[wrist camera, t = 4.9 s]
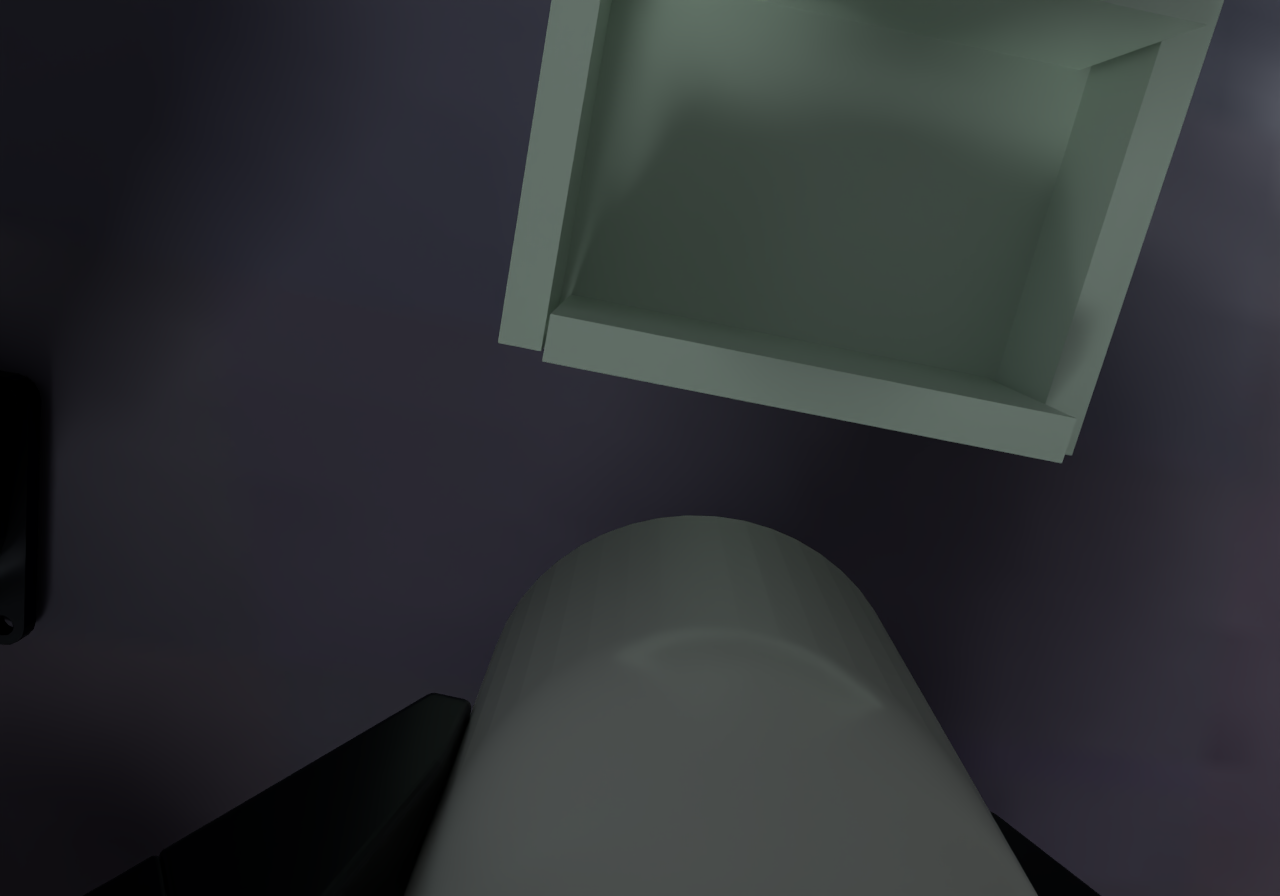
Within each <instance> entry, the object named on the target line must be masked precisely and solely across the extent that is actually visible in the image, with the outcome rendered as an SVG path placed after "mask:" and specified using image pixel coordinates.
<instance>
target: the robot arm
mask: <svg viewBox="0 0 1280 896" xmlns="http://www.w3.org/2000/svg"><path fill="white" fill-rule="evenodd" d="M8 389H10V390H12V391H13V393H14V394H15V395H16V397H17V401H18V402H17V405H16V406H15V405H13V404H12V403H11V402H10V401H9V400H8V397H7V390H8ZM40 418H41V398H40V392H39V390H38V388H37V386H36V385H35V383H34V382H32V381H31V380H30V379H29V378H28V377H25V376H23V375H20V374H16V373H11V372H6V371H1V370H0V644H4V645H10V644H13V643H15V642H18V641H19V640H21V639H22V638H24V637H25V636H27V635H28V634H29V633H30V632H31V631H32V630H33V629H34V626H35V622H36V582H37V541H38V500H39V459H40ZM3 616H5V617H7V618H9V619H10V620H11V621H12V624H13V627H11V626H9V625H8V624H7V623H6V622H5V620H4V617H3ZM470 714H471V704H470V703H469V702H468V701H467V700H465V699H461V698H457V697H452V696H447V695H443V694H438V693H431V694H428V695H426V696H424V697H423V698H421V699H419V700H417V701H416V702H414V703H412V704H411V705H409V706H407V707H406V708H404V709H402V710H400V711H399V712H397V713H395V714H394V715H392V716H390V717H388V718H387V719H385V720H383V721H382V722H380V723H378V724H377V725H375V726H373V727H371V728H370V729H368V730H366V731H365V732H363V733H361V734H360V735H358V736H356V737H354V738H353V739H351V740H349V741H348V742H346V743H344V744H343V745H341V746H339V747H337V748H336V749H334V750H332V751H331V752H329V753H327V754H325V755H324V756H322V757H320V758H319V759H317V760H315V761H314V762H312V763H310V764H308V765H307V766H305V767H303V768H302V769H300V770H298V771H297V772H295V773H293V774H291V775H290V776H288V777H286V778H285V779H283V780H281V781H280V782H278V783H276V784H274V785H273V786H271V787H269V788H268V789H266V790H264V791H262V792H261V793H259V794H257V795H256V796H254V797H252V798H251V799H249V800H247V801H245V802H244V803H242V804H240V805H239V806H237V807H235V808H234V809H232V810H230V811H228V812H227V813H225V814H223V815H222V816H220V817H218V818H217V819H215V820H213V821H211V822H210V823H208V824H206V825H205V826H203V827H201V828H199V829H198V830H196V831H194V832H193V833H191V834H189V835H188V836H186V837H184V838H182V839H181V840H179V841H177V842H176V843H174V844H172V845H171V846H169V847H167V848H165V849H164V850H162V852H161V853H160V855H159V857H158V856H151V857H149V858H148V859H146V860H144V861H143V862H141V863H139V864H137V865H136V866H134V867H132V868H131V869H129V870H127V871H126V872H124V873H122V874H120V875H119V876H117V877H115V878H114V879H112V880H110V881H108V882H107V883H105V884H103V885H101V886H99V887H98V888H96V889H94V890H92V891H90V892H89V893H87V894H85V895H83V896H403V895H404V892H405V890H406V887H407V884H408V882H409V879H410V876H411V873H412V871H413V868H414V865H415V863H416V860H417V857H418V855H419V852H420V849H421V847H422V844H423V841H424V838H425V836H426V833H427V830H428V828H429V825H430V822H431V820H432V817H433V815H434V812H435V810H436V807H437V804H438V802H439V799H440V797H441V794H442V791H443V789H444V786H445V783H446V780H447V778H448V775H449V772H450V770H451V767H452V764H453V762H454V759H455V756H456V753H457V751H458V748H459V745H460V743H461V740H462V737H463V735H464V732H465V729H466V726H467V724H468V721H469V718H470ZM990 813H991V815H992V816H993V818H994V820H995V822H996V823H997V825H998V827H999V829H1000V830H1001V832H1002V834H1003V836H1004V837H1005V839H1006V841H1007V843H1008V844H1009V846H1010V848H1011V850H1012V851H1013V853H1014V855H1015V856H1016V858H1017V860H1018V862H1019V863H1020V865H1021V867H1022V869H1023V870H1024V872H1025V874H1026V876H1027V877H1028V879H1029V881H1030V883H1031V884H1032V886H1033V888H1034V890H1035V891H1036V893H1037V895H1038V896H1101V895H1099V894H1098V893H1097V892H1095V891H1094V890H1093V889H1092V888H1090V887H1089V886H1088V885H1086V884H1085V883H1084V882H1083V881H1081V880H1080V879H1079V878H1077V877H1076V876H1075V875H1074V874H1072V873H1071V872H1070V871H1068V870H1067V869H1066V868H1065V867H1063V866H1062V865H1061V864H1059V863H1058V862H1057V861H1055V860H1054V859H1053V858H1052V857H1050V856H1049V855H1048V854H1046V853H1045V852H1044V851H1043V850H1041V849H1040V848H1039V847H1037V846H1036V845H1035V844H1034V843H1032V842H1031V841H1030V840H1028V839H1027V838H1026V837H1025V836H1023V835H1022V834H1021V833H1019V832H1018V831H1017V830H1016V829H1014V828H1013V827H1012V826H1010V825H1009V824H1008V823H1006V822H1005V821H1004V820H1003V819H1001V818H1000V817H999V816H997V815H996V814H994V813H992V812H990Z"/></svg>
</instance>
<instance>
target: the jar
mask: <svg viewBox="0 0 1280 896" xmlns="http://www.w3.org/2000/svg"><path fill="white" fill-rule="evenodd" d="M403 896H1038V895H1037V893H1036V891H1035V890H1034V888H1033V886H1032V884H1031V883H1030V881H1029V879H1028V877H1027V876H1026V874H1025V872H1024V870H1023V869H1022V867H1021V865H1020V863H1019V862H1018V860H1017V858H1016V856H1015V855H1014V853H1013V851H1012V850H1011V848H1010V846H1009V844H1008V843H1007V841H1006V839H1005V837H1004V836H1003V834H1002V832H1001V830H1000V829H999V827H998V825H997V823H996V822H995V820H994V818H993V816H992V815H991V813H990V811H989V809H988V808H987V806H986V804H985V802H984V801H983V799H982V797H981V795H980V794H979V792H978V790H977V789H976V787H975V785H974V783H973V782H972V780H971V778H970V776H969V775H968V773H967V771H966V769H965V768H964V766H963V764H962V762H961V761H960V759H959V757H958V755H957V754H956V752H955V750H954V748H953V747H952V745H951V743H950V741H949V740H948V738H947V736H946V734H945V733H944V731H943V729H942V728H941V726H940V724H939V722H938V721H937V719H936V717H935V715H934V714H933V712H932V710H931V708H930V707H929V705H928V703H927V701H926V700H925V698H924V696H923V694H922V693H921V691H920V689H919V687H918V686H917V684H916V682H915V680H914V679H913V677H912V675H911V673H910V672H909V670H908V668H907V667H906V665H905V663H904V661H903V660H902V658H901V656H900V654H899V653H898V651H897V649H896V647H895V646H894V644H893V642H892V640H891V639H890V637H889V635H888V633H887V632H886V630H885V628H884V626H883V625H882V623H881V621H880V619H879V618H878V616H877V614H876V612H875V611H874V609H873V608H872V607H871V605H870V604H869V602H868V601H867V600H866V598H865V597H864V595H863V594H862V592H861V591H860V590H859V589H858V588H857V587H856V586H855V584H854V583H853V582H852V581H851V580H850V579H849V578H848V577H847V576H846V575H845V574H844V573H843V572H842V571H841V570H840V569H839V568H837V567H836V566H835V565H834V564H832V563H831V562H830V561H829V560H827V559H826V558H825V557H824V556H822V555H821V554H820V553H818V552H816V551H815V550H813V549H811V548H810V547H808V546H806V545H805V544H803V543H802V542H800V541H798V540H796V539H794V538H792V537H789V536H787V535H785V534H783V533H780V532H778V531H776V530H773V529H771V528H767V527H764V526H760V525H757V524H754V523H750V522H747V521H742V520H736V519H730V518H723V517H717V516H690V515H687V516H676V517H665V518H657V519H652V520H648V521H643V522H639V523H634V524H630V525H628V526H625V527H622V528H619V529H616V530H613V531H611V532H608V533H605V534H603V535H601V536H599V537H597V538H595V539H593V540H591V541H589V542H587V543H585V544H583V545H581V546H579V547H578V548H577V549H575V550H574V551H572V552H571V553H569V554H568V555H566V556H565V557H563V558H562V559H560V560H559V561H557V562H556V563H555V564H554V565H553V566H552V567H551V568H550V569H549V570H547V571H546V572H545V573H544V574H543V575H542V576H541V577H540V578H539V579H537V581H536V582H535V583H534V584H533V585H532V587H531V588H530V589H529V590H528V591H527V592H526V594H525V595H524V596H523V597H522V598H521V600H520V601H519V603H518V604H517V606H516V608H515V609H514V611H513V612H512V614H511V615H510V617H509V619H508V620H507V622H506V624H505V627H504V629H503V631H502V633H501V635H500V638H499V640H498V642H497V645H496V647H495V650H494V653H493V655H492V658H491V661H490V663H489V666H488V669H487V671H486V674H485V677H484V680H483V682H482V685H481V688H480V690H479V693H478V696H477V698H476V701H475V704H474V706H473V709H472V712H471V715H470V718H469V721H468V724H467V726H466V729H465V732H464V735H463V737H462V740H461V743H460V745H459V748H458V751H457V753H456V756H455V759H454V762H453V764H452V767H451V770H450V772H449V775H448V778H447V780H446V783H445V786H444V789H443V791H442V794H441V797H440V799H439V802H438V804H437V807H436V810H435V812H434V815H433V817H432V820H431V822H430V825H429V828H428V830H427V833H426V836H425V838H424V841H423V844H422V847H421V849H420V852H419V855H418V857H417V860H416V863H415V865H414V868H413V871H412V873H411V876H410V879H409V882H408V884H407V887H406V890H405V892H404V895H403Z"/></svg>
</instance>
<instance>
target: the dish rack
mask: <svg viewBox="0 0 1280 896" xmlns="http://www.w3.org/2000/svg"><path fill="white" fill-rule="evenodd" d="M1223 2H1224V0H552V1H551V8H550V14H549V20H548V27H547V33H546V40H545V46H544V52H543V59H542V65H541V71H540V78H539V84H538V91H537V97H536V103H535V110H534V116H533V122H532V129H531V135H530V142H529V148H528V154H527V161H526V167H525V174H524V180H523V186H522V193H521V199H520V205H519V212H518V218H517V225H516V231H515V237H514V244H513V250H512V256H511V263H510V269H509V276H508V282H507V288H506V295H505V301H504V307H503V314H502V320H501V327H500V333H499V339H498V343H502V344H507V345H512V346H517V347H522V348H527V349H532V350H538V351H541V350H542V349H543V348H544V347H545V349H544V354H543V360H542V361H543V362H548V363H553V364H559V365H564V366H569V367H574V368H579V369H584V370H589V371H594V372H599V373H604V374H609V375H615V376H620V377H625V378H630V379H635V380H640V381H645V382H650V383H655V384H660V385H665V386H671V387H676V388H681V389H686V390H691V391H696V392H701V393H706V394H711V395H716V396H721V397H727V398H732V399H737V400H742V401H747V402H752V403H757V404H762V405H767V406H772V407H777V408H783V409H788V410H793V411H798V412H803V413H808V414H813V415H818V416H823V417H828V418H833V419H838V420H844V421H849V422H854V423H859V424H864V425H869V426H874V427H879V428H884V429H889V430H894V431H900V432H905V433H910V434H915V435H920V436H925V437H930V438H935V439H940V440H945V441H950V442H956V443H961V444H966V445H971V446H976V447H981V448H986V449H991V450H996V451H1001V452H1006V453H1012V454H1017V455H1022V456H1027V457H1032V458H1037V459H1042V460H1047V461H1052V462H1057V463H1062V462H1063V459H1064V456H1065V454H1066V455H1071V456H1072V454H1073V451H1074V448H1075V445H1076V442H1077V439H1078V436H1079V433H1080V430H1081V427H1082V424H1083V421H1084V418H1085V415H1086V412H1087V409H1088V406H1089V403H1090V400H1091V397H1092V394H1093V391H1094V388H1095V385H1096V382H1097V379H1098V376H1099V373H1100V370H1101V367H1102V364H1103V361H1104V358H1105V355H1106V352H1107V349H1108V346H1109V343H1110V340H1111V337H1112V334H1113V331H1114V328H1115V325H1116V322H1117V319H1118V316H1119V313H1120V310H1121V307H1122V304H1123V301H1124V298H1125V295H1126V292H1127V289H1128V286H1129V283H1130V280H1131V277H1132V274H1133V271H1134V268H1135V265H1136V262H1137V259H1138V256H1139V253H1140V250H1141V247H1142V244H1143V241H1144V238H1145V235H1146V232H1147V230H1148V227H1149V224H1150V221H1151V218H1152V215H1153V212H1154V209H1155V206H1156V203H1157V200H1158V197H1159V194H1160V191H1161V188H1162V185H1163V182H1164V179H1165V176H1166V173H1167V170H1168V167H1169V164H1170V161H1171V158H1172V155H1173V152H1174V149H1175V146H1176V143H1177V140H1178V137H1179V134H1180V131H1181V128H1182V125H1183V122H1184V119H1185V116H1186V113H1187V110H1188V107H1189V104H1190V101H1191V98H1192V95H1193V92H1194V89H1195V86H1196V83H1197V80H1198V77H1199V74H1200V71H1201V68H1202V65H1203V62H1204V59H1205V56H1206V53H1207V50H1208V47H1209V44H1210V41H1211V38H1212V35H1213V32H1214V29H1215V26H1216V23H1217V20H1218V17H1219V14H1220V11H1221V8H1222V5H1223Z"/></svg>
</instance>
